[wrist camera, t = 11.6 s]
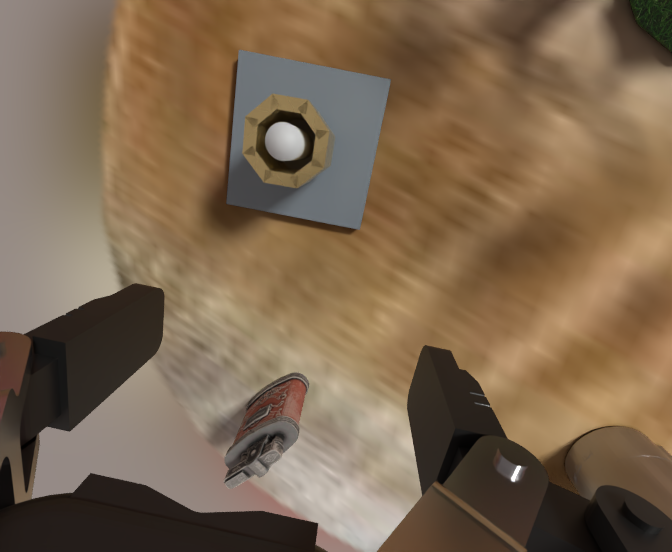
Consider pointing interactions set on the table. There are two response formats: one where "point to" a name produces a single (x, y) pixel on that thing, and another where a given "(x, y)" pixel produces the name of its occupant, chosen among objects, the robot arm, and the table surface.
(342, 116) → the grey peg stand
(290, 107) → the bushing
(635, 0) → the bonsai tree
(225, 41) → the table surface
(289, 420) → the small tin
